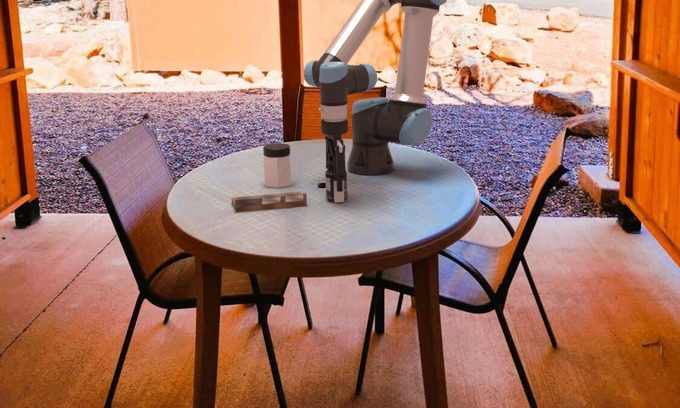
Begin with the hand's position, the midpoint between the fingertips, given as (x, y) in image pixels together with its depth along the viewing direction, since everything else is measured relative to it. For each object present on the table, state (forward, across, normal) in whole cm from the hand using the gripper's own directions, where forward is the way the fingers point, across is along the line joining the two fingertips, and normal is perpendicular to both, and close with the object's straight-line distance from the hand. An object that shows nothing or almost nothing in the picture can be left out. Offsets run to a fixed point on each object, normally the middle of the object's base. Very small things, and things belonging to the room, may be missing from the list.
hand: (336, 198), depth 224 cm
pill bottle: (+1, 0, 0) cm, 1 cm away
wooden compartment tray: (+1, -2, -19) cm, 19 cm away
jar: (+1, -21, -13) cm, 25 cm away
